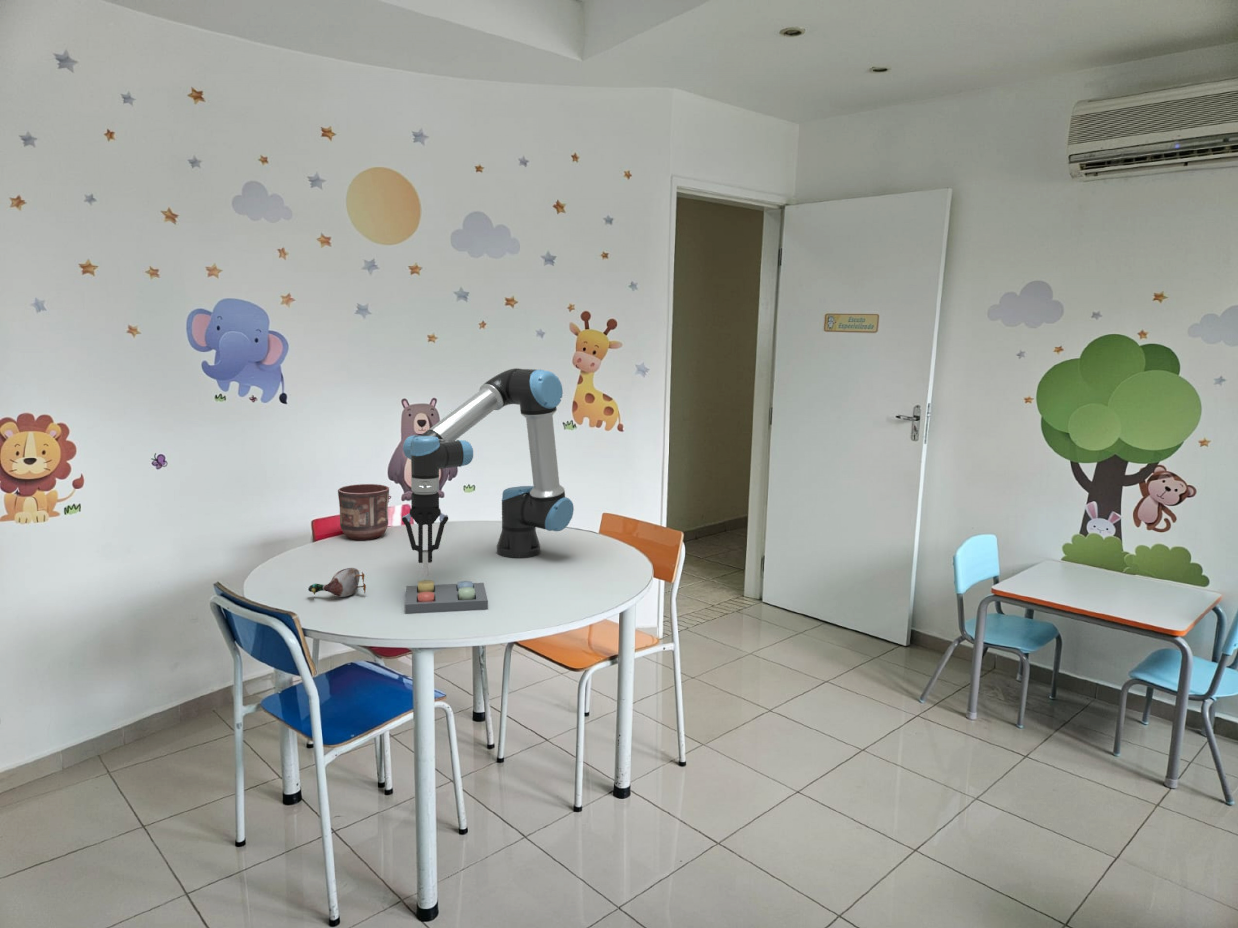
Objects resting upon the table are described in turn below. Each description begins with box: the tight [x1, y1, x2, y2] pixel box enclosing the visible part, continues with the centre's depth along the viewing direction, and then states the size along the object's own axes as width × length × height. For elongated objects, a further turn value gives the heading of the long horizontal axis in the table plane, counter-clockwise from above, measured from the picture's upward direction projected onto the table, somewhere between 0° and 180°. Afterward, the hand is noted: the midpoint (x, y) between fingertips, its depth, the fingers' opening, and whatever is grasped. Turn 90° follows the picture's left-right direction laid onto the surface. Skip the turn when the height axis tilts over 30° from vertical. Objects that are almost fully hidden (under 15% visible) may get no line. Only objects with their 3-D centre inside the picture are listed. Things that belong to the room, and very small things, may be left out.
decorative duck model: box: [307, 567, 367, 598], centre depth 224 cm, size 15×8×15 cm
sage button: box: [459, 587, 475, 600], centre depth 218 cm, size 4×4×3 cm
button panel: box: [404, 582, 489, 615], centre depth 220 cm, size 22×16×2 cm
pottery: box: [337, 483, 390, 541], centre depth 285 cm, size 18×18×18 cm
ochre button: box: [417, 579, 435, 593], centre depth 223 cm, size 4×4×3 cm
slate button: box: [456, 580, 474, 591], centre depth 225 cm, size 4×4×3 cm
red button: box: [418, 591, 434, 602], centre depth 215 cm, size 4×4×3 cm
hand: (425, 573), depth 222 cm, fingers closed
